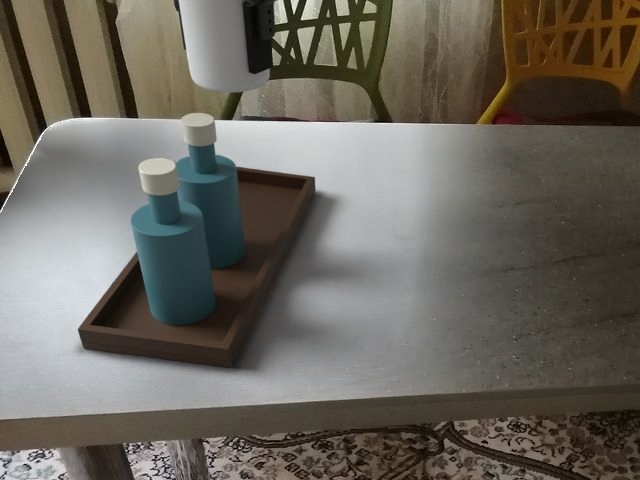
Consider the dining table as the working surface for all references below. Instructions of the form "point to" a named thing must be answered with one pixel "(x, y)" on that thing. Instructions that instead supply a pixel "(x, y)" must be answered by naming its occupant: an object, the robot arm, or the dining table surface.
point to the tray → (229, 283)
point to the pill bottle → (218, 45)
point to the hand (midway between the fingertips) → (228, 57)
